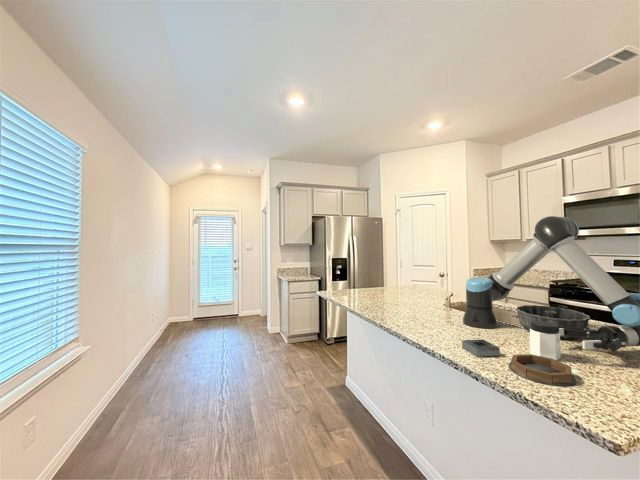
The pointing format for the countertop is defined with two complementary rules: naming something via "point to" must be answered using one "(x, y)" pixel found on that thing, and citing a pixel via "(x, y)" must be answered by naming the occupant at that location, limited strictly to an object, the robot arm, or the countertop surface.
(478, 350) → the square socket
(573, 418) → the countertop surface
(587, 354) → the countertop surface
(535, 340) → the jar
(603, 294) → the robot arm
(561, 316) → the bundt pan
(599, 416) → the countertop surface
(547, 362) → the brown octagonal tray
